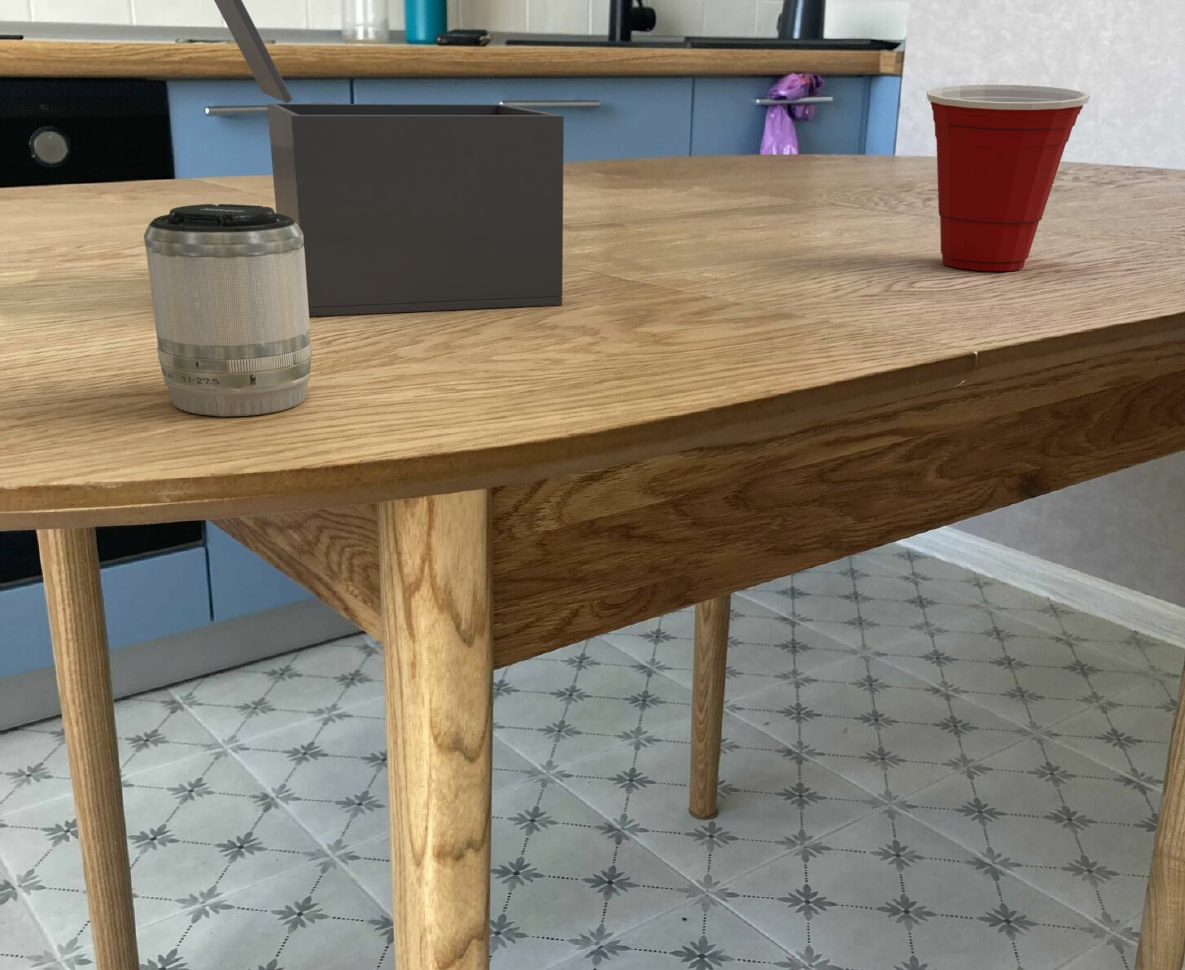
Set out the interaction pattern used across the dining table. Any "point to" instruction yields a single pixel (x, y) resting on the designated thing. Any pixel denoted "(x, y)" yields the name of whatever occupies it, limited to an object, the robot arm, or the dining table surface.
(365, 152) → the carton
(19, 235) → the dining table surface
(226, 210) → the camera lens
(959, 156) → the plastic cup
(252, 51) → the flap
